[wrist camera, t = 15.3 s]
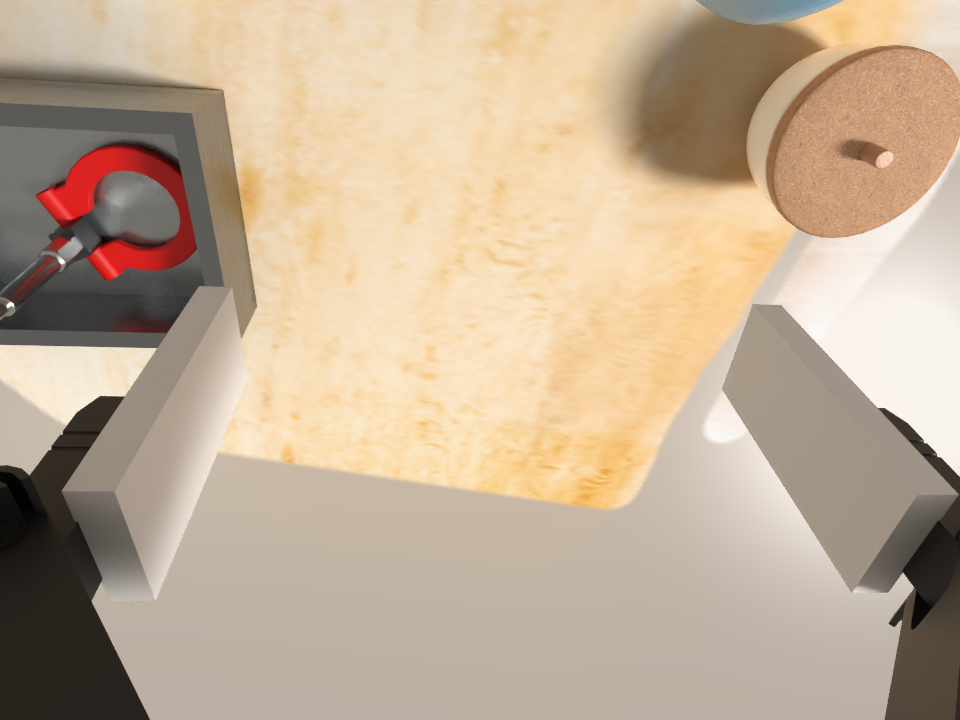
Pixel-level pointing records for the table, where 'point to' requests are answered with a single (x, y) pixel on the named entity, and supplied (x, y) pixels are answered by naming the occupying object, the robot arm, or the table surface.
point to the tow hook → (83, 241)
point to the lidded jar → (854, 136)
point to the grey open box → (118, 208)
